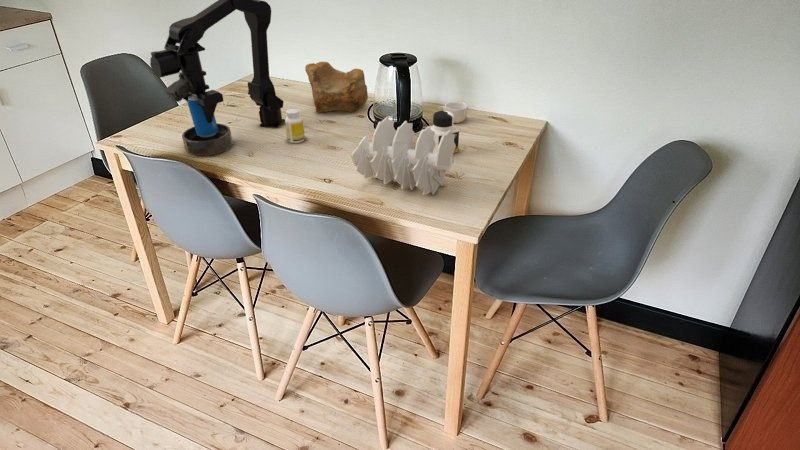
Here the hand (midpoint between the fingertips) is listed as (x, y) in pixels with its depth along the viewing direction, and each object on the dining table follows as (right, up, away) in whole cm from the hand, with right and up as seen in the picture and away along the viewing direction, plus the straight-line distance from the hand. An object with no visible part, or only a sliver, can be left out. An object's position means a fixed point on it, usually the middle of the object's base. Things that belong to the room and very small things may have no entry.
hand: (203, 119), depth 162 cm
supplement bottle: (+27, -5, +9) cm, 28 cm away
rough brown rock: (+35, +10, +31) cm, 48 cm away
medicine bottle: (+73, -9, +1) cm, 73 cm away
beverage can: (0, -4, +3) cm, 5 cm away
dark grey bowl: (0, -8, +5) cm, 9 cm away
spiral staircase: (+62, -21, -17) cm, 67 cm away
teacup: (+78, +4, +20) cm, 80 cm away
